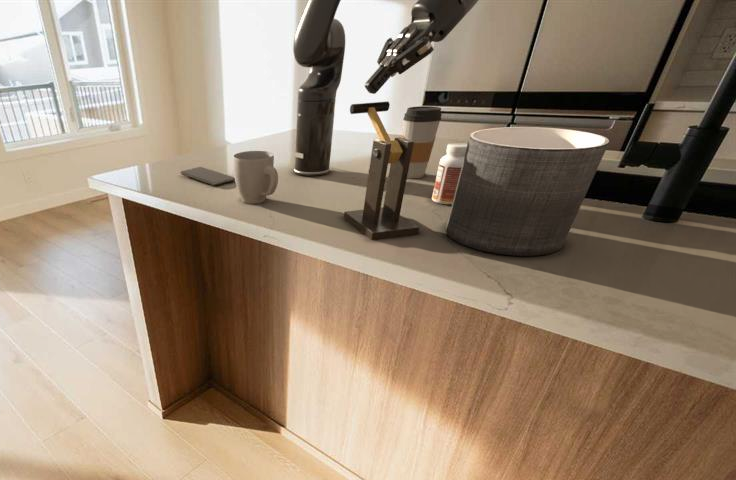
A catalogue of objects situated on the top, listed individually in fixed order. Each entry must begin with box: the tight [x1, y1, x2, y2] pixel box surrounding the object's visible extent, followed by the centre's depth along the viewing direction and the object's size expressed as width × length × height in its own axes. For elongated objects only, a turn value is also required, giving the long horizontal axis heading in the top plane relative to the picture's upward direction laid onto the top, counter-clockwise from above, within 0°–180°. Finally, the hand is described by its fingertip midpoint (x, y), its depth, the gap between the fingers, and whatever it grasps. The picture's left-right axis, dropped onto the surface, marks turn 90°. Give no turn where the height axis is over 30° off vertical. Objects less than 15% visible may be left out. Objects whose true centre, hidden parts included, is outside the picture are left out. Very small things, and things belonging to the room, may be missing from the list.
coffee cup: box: [401, 105, 443, 179], centre depth 103 cm, size 8×8×15 cm
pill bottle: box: [431, 142, 468, 206], centre depth 87 cm, size 6×6×11 cm
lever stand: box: [343, 136, 421, 241], centre depth 76 cm, size 12×9×15 cm
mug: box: [232, 150, 279, 205], centre depth 93 cm, size 12×9×10 cm
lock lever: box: [349, 101, 403, 165], centre depth 75 cm, size 14×7×2 cm
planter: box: [445, 126, 610, 257], centre depth 69 cm, size 18×18×16 cm
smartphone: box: [180, 166, 235, 186], centre depth 114 cm, size 7×1×16 cm
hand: (369, 90), depth 76 cm, fingers closed
